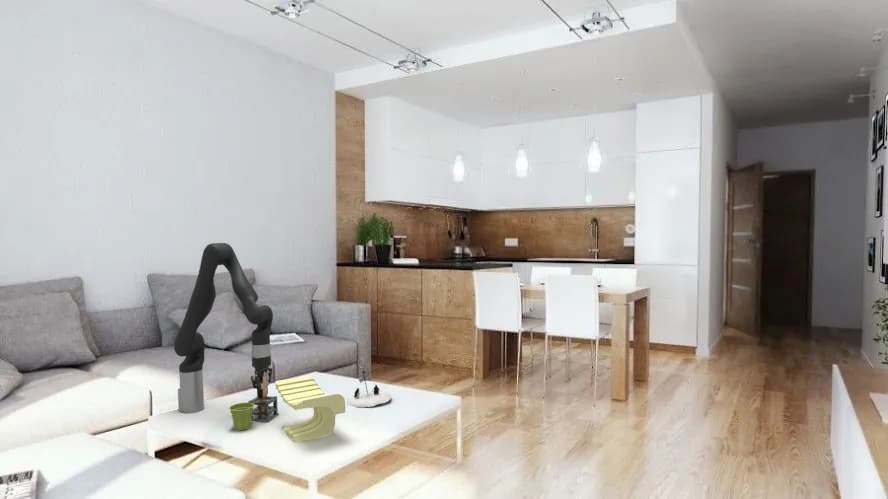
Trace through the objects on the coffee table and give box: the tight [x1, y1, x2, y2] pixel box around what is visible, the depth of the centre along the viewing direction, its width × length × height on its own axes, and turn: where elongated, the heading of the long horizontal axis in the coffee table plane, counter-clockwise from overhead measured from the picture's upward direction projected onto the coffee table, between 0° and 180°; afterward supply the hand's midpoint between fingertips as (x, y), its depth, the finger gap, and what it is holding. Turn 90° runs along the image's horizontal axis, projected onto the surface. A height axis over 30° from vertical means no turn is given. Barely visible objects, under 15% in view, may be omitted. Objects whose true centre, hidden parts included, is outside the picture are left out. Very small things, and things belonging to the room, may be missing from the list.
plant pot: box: [228, 402, 255, 431], centre depth 227 cm, size 9×9×9 cm
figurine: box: [346, 366, 392, 408], centre depth 258 cm, size 20×18×16 cm
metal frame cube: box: [247, 395, 279, 424], centre depth 238 cm, size 9×9×8 cm
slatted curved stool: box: [275, 375, 346, 443], centre depth 221 cm, size 30×16×18 cm, turn 34°
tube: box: [259, 373, 268, 412], centre depth 237 cm, size 4×4×16 cm
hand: (262, 396), depth 237 cm, fingers closed on tube, 3 cm apart
